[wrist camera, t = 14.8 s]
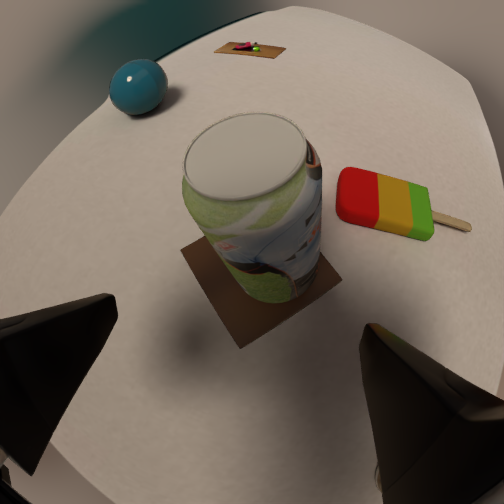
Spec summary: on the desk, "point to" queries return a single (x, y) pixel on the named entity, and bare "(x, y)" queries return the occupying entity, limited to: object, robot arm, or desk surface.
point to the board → (251, 49)
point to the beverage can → (258, 201)
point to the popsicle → (388, 204)
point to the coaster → (243, 305)
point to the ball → (138, 86)
